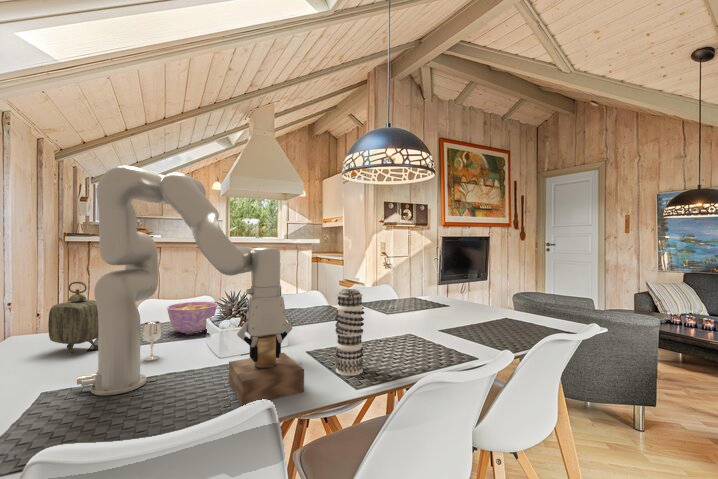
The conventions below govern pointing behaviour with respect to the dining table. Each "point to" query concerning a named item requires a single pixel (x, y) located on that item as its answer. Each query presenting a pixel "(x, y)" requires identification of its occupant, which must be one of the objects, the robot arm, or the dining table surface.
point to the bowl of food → (191, 316)
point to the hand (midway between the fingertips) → (265, 357)
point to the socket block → (265, 379)
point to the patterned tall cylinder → (349, 332)
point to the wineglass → (151, 335)
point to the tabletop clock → (74, 320)
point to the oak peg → (266, 352)
